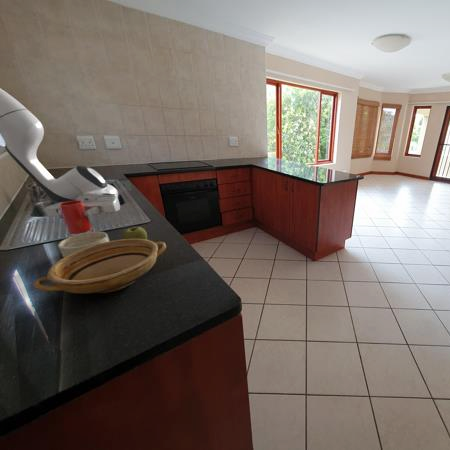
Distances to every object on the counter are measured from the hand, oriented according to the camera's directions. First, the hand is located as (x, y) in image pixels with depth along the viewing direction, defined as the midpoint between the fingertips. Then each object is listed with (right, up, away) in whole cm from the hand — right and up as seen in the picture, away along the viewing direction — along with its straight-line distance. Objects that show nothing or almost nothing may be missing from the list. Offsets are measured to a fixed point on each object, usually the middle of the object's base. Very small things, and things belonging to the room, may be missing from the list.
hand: (73, 215), depth 79 cm
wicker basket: (+22, -20, -10) cm, 31 cm away
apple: (+15, -11, +10) cm, 21 cm away
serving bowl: (0, -13, +6) cm, 14 cm away
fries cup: (0, -5, +3) cm, 6 cm away
